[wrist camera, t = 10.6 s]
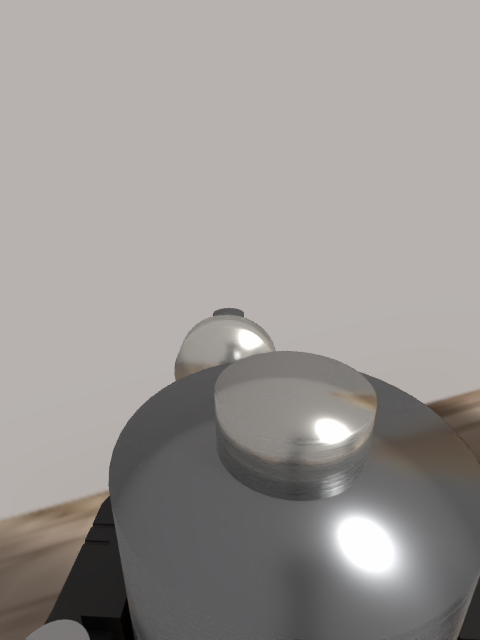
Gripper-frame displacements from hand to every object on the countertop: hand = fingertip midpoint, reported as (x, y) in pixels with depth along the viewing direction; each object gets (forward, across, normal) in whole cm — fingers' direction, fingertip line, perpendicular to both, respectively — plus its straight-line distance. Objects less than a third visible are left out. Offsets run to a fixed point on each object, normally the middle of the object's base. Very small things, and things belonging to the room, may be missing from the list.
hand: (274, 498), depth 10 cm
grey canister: (-3, 0, +6) cm, 7 cm away
